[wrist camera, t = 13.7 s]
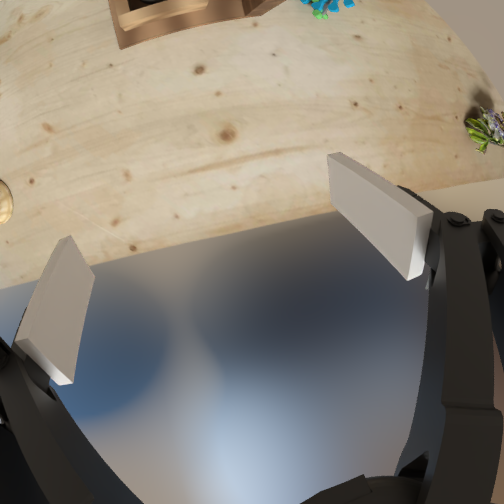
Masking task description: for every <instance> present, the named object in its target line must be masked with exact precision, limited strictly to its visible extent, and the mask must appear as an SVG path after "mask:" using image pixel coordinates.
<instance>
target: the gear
mask: <svg viewBox="0 0 504 504" xmlns="http://www.w3.org/2000/svg"><path fill="white" fill-rule="evenodd" d="M310 1H311V0H301V2H302V3H303V4H307V3H309V2H310ZM312 1H313V2H314V3H312V5H311V6H312V7H313V8H314V11H313V12H312V13H313V15H314V16H315V17H316V18H317V19H321V18H322V17H323V18H324V19H328V16H327V14H326V12H327V10H328V9H329V11H331V12H338V11H339V8H338V1H339V0H312ZM332 1H333V2H332ZM344 5H345V6H346V7H347V8H349V7H353V6H355V4H354V2H353V0H344Z"/></svg>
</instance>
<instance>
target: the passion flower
mask: <svg viewBox="0 0 504 504" xmlns="http://www.w3.org/2000/svg"><path fill="white" fill-rule="evenodd" d="M480 111H481V112H482V114H483V118H484V119H481V118H478V119H477V120H479V121H481V122H482V123H480V122H479V121H477V120H475V119H472V118H468V119H467V120H465V122H468V123H469V124H470V125H471V126H472V127H474V128H476V129H478V130H480V131H482V132H483V133H484V134H482V133H480V132H478V131H475V130H474V129H471V128H468V127H466V129H467V132H468V133H469V136H470V138H471V139H472V140H473V141H474V142H476V143H479V144H480V143H482V144H481V146H480V148H479V149H477V148H476V151H478V152H480V153H482V154H483V155H484V154H485V152H486V150H485V149H487V146H488V143H491V144H495V145H498V146H501V147H504V145H499V144H498V143H500V144H502V143H503V144H504V121H503V120H502V119H501V117H499V114H497V113H496V114H495V113H494V112H493V111H492V109H490V110H488V109H487V110H486V111H485V110H484V108H482V107H481V106H480ZM501 113H502V116H503V118H504V112H503V111H502V112H501ZM486 126H487V128H488V129H489V130H490V132H491V134H489V133H488V130H487V128H486ZM490 140H491V141H493V142H494V143H493V142H491V141H490ZM483 150H485V152H484V151H483Z"/></svg>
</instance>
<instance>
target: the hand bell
mask: <svg viewBox="0 0 504 504" xmlns="http://www.w3.org/2000/svg"><path fill="white" fill-rule="evenodd" d="M12 211H13V199H12V196H11V193H10V191H9V189H8V187H7V186H6V185H5V184H4V183H3V182H2V181H0V224H3V223H5V222H7V221H8V220H9V218H10V217H11V215H12Z"/></svg>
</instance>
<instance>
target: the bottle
mask: <svg viewBox="0 0 504 504" xmlns="http://www.w3.org/2000/svg"><path fill="white" fill-rule="evenodd" d="M140 1H141V2H143V3H145V4H148V5H153V4H156V3H159V2H163V1H167V0H140Z"/></svg>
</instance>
